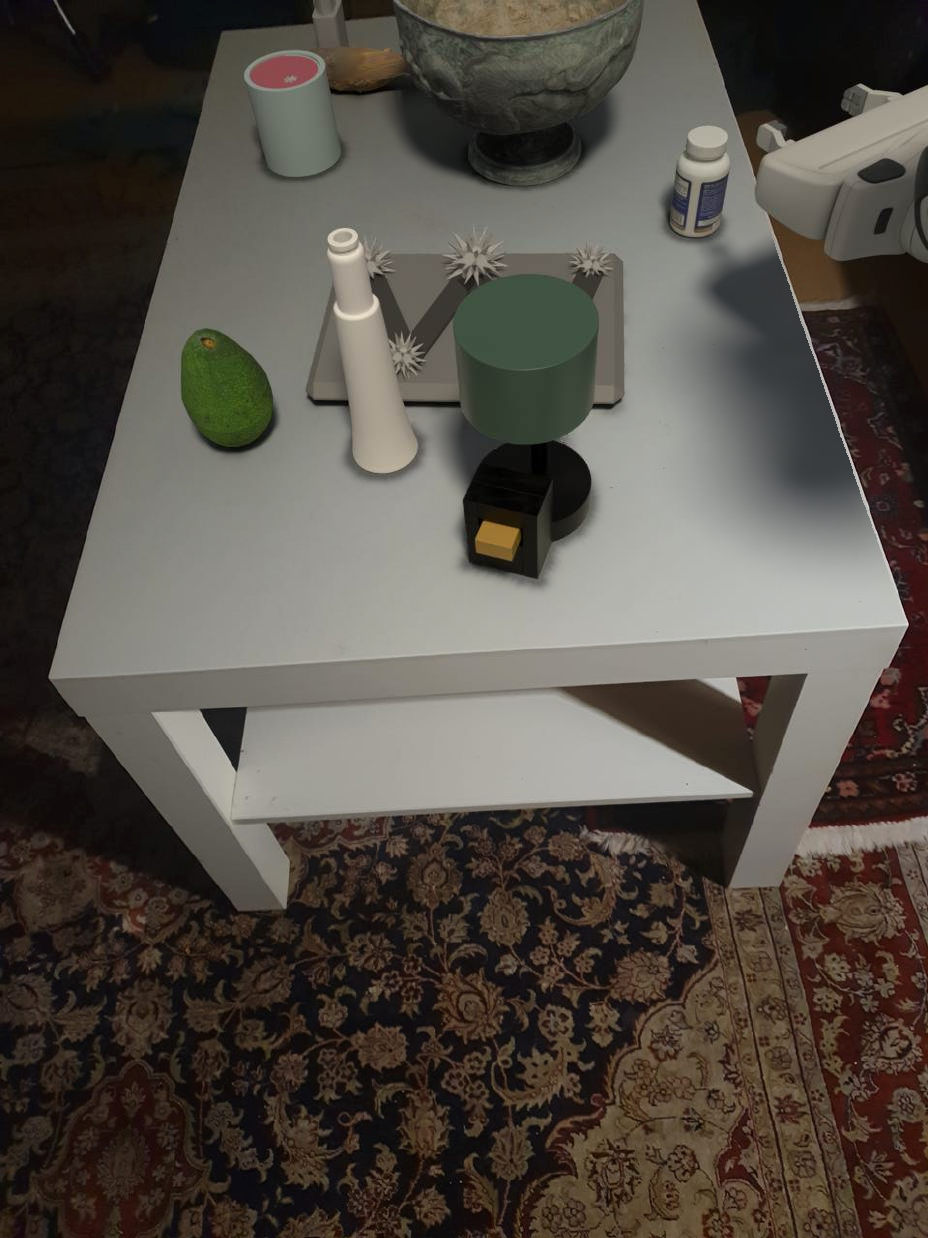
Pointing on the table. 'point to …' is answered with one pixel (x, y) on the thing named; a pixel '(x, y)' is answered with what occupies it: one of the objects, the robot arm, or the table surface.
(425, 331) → the decorative plate
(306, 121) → the mug
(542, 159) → the decorative bowl
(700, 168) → the pill bottle
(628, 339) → the table surface
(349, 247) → the cosmetic bottle
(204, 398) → the fruit
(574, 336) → the desk lamp
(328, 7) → the power adapter
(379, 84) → the bird model
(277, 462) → the table surface
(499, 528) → the lamp switch
